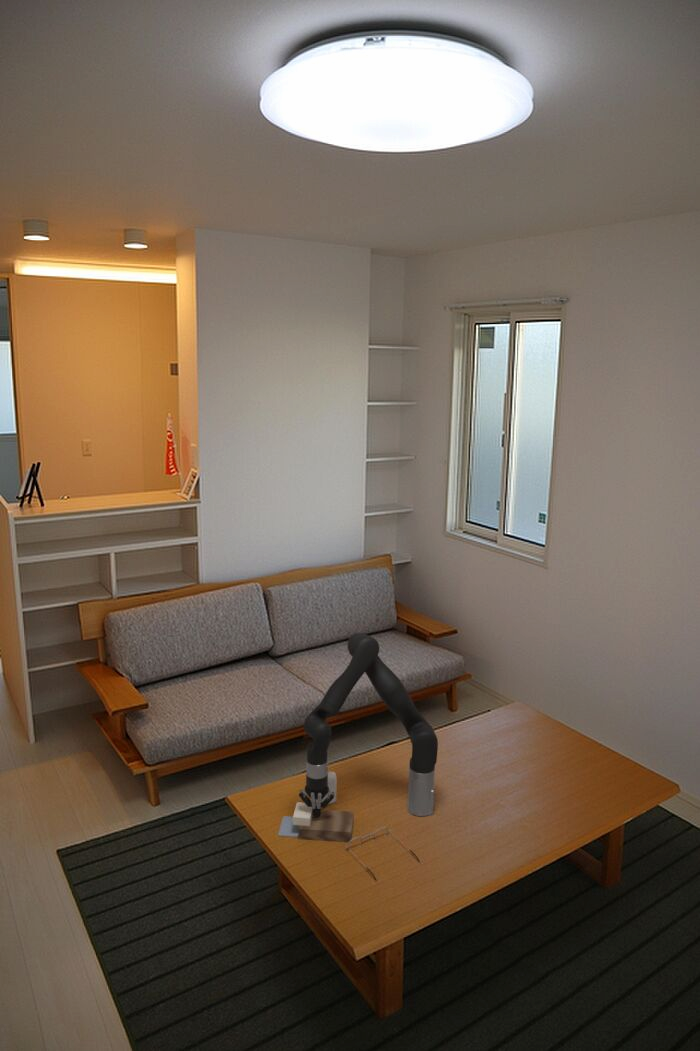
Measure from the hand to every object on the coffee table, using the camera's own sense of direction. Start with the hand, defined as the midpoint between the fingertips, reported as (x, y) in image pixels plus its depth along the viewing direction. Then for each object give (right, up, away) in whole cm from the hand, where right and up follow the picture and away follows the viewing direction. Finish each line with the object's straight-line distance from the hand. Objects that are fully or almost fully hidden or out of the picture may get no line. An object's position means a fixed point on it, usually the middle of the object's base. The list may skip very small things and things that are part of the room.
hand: (316, 816), depth 266 cm
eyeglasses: (+23, -9, -12) cm, 27 cm away
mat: (-9, -5, +2) cm, 11 cm away
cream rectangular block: (-5, +1, +1) cm, 5 cm away
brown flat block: (+4, -5, +1) cm, 6 cm away
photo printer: (+2, -2, +17) cm, 17 cm away
